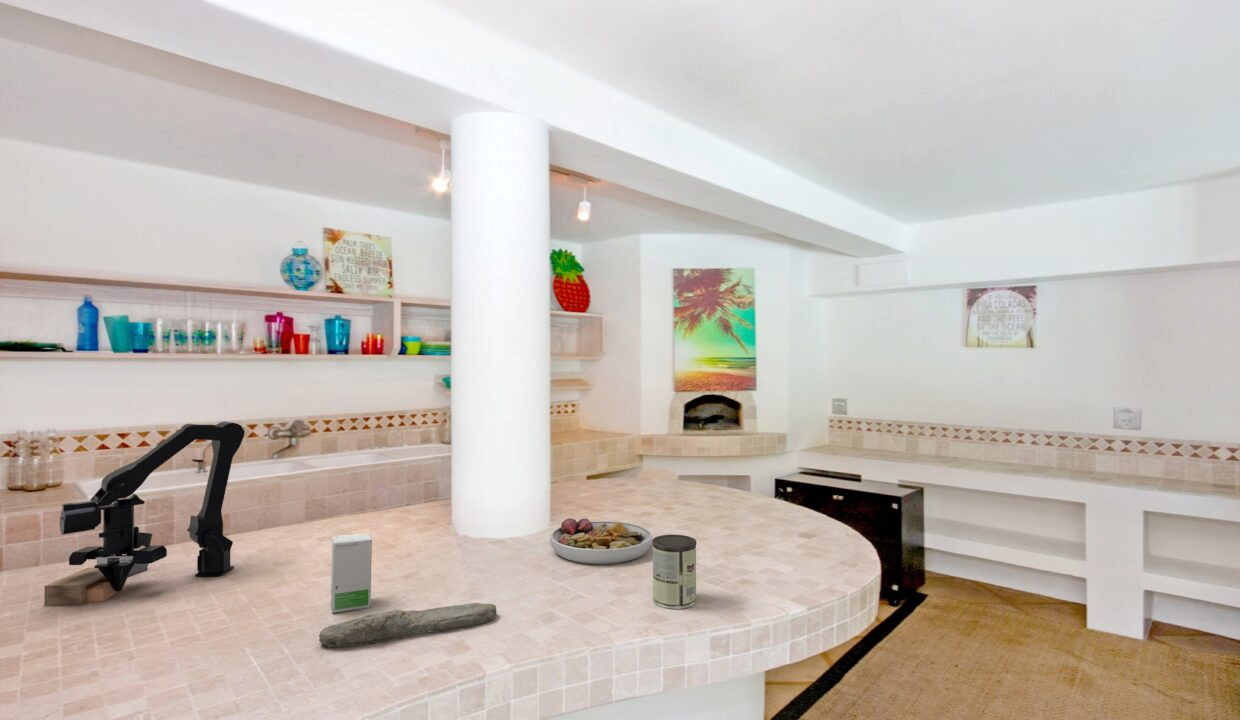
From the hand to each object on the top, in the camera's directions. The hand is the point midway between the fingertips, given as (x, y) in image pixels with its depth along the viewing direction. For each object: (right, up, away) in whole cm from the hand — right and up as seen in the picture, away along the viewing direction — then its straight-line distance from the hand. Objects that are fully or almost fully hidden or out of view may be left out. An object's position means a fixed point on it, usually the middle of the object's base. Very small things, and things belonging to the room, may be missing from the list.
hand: (118, 591), depth 146 cm
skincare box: (+58, -1, -6) cm, 58 cm away
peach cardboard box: (-5, -1, -2) cm, 6 cm away
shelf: (-8, -1, 0) cm, 8 cm away
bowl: (+114, -2, +35) cm, 119 cm away
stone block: (-12, -1, +13) cm, 18 cm away
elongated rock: (+76, -2, -19) cm, 79 cm away
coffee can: (+132, -1, -3) cm, 132 cm away
